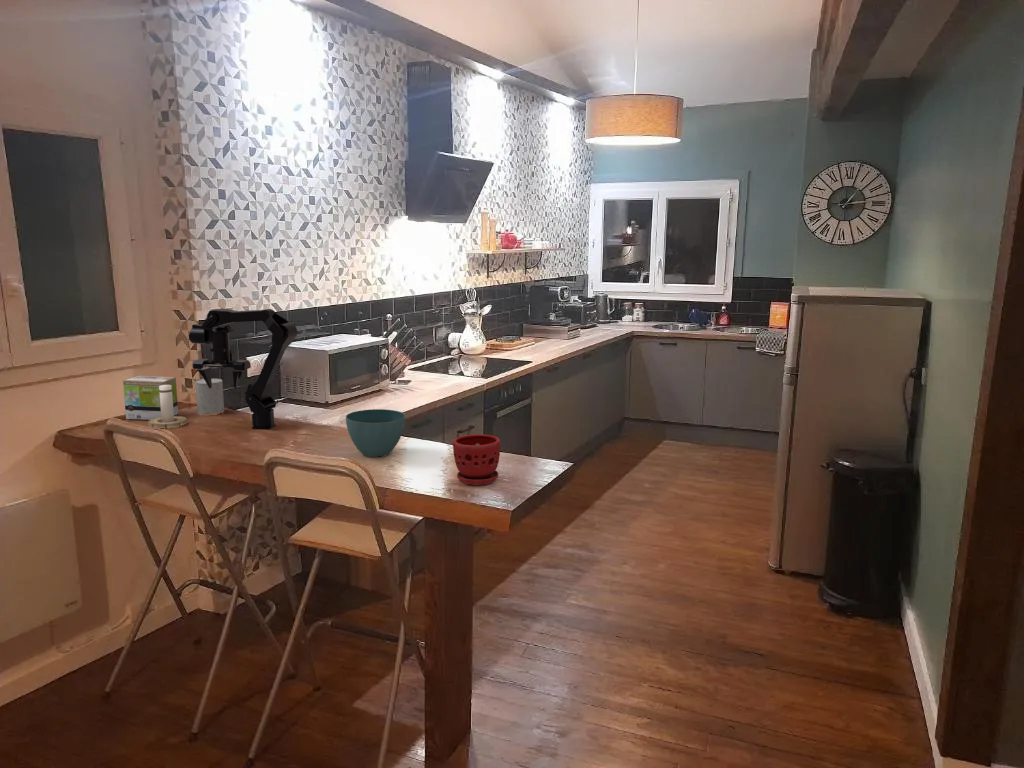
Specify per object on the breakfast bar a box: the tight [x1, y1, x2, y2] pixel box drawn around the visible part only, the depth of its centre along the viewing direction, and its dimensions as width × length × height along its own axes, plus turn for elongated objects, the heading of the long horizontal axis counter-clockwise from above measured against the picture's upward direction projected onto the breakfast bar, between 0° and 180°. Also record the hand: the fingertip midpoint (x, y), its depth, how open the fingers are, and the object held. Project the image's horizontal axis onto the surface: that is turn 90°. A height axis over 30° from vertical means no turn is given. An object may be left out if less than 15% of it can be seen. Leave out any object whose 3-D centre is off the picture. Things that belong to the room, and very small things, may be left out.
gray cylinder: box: [195, 378, 225, 414], centre depth 278 cm, size 10×10×12 cm
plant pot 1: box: [345, 408, 406, 458], centre depth 229 cm, size 18×18×12 cm
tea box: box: [122, 375, 179, 421], centre depth 270 cm, size 15×10×15 cm, turn 88°
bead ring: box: [147, 415, 188, 430], centre depth 261 cm, size 12×12×2 cm
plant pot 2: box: [452, 434, 501, 486], centre depth 206 cm, size 13×13×12 cm
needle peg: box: [159, 385, 174, 423], centre depth 260 cm, size 4×4×14 cm
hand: (223, 388), depth 260 cm, fingers open, 9 cm apart
